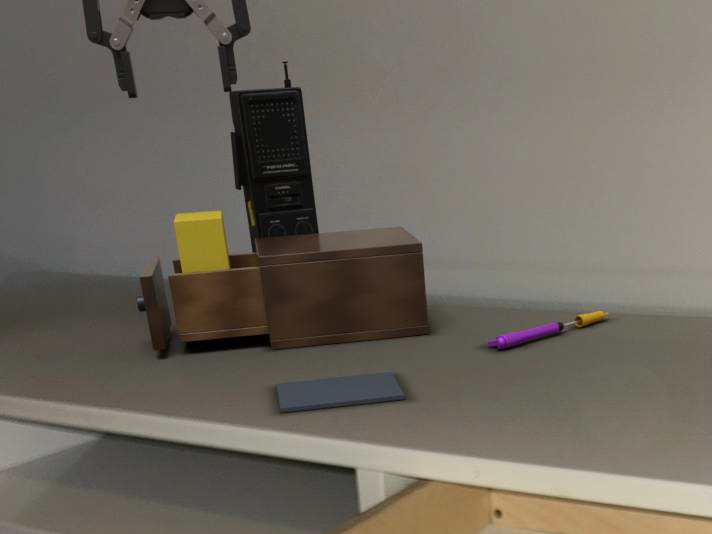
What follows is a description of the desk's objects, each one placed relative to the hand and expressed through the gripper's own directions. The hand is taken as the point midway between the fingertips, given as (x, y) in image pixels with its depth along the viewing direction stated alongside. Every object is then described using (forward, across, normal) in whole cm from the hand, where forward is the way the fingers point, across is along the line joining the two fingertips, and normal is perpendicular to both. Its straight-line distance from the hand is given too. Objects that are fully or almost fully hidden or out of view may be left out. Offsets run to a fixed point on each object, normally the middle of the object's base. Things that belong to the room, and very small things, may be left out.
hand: (180, 94), depth 98 cm
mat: (+23, -10, +25) cm, 35 cm away
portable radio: (+23, -8, -13) cm, 27 cm away
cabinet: (+23, -13, -1) cm, 26 cm away
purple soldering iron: (+23, -32, +11) cm, 41 cm away
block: (+20, 0, -1) cm, 21 cm away
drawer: (+22, 0, -1) cm, 22 cm away
